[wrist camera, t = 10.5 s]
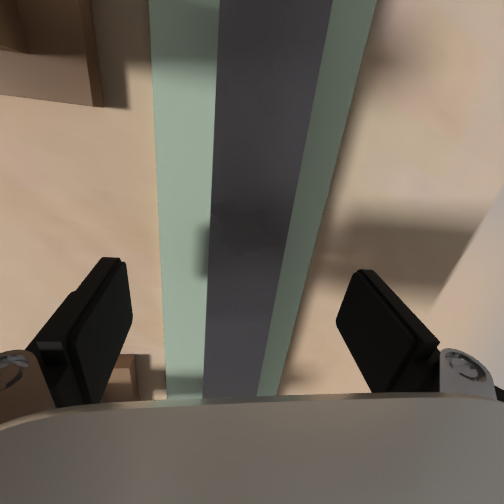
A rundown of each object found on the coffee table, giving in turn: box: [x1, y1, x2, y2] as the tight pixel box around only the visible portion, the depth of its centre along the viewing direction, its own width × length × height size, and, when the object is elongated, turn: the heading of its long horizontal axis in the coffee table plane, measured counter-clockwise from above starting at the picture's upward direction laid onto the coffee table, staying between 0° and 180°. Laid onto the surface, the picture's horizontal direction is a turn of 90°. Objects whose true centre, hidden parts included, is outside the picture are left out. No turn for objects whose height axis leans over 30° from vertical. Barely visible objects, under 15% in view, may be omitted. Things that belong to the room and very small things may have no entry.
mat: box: [149, 0, 377, 400], centre depth 14 cm, size 26×8×1 cm, turn 173°
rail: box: [202, 0, 333, 398], centre depth 13 cm, size 24×3×3 cm, turn 173°
